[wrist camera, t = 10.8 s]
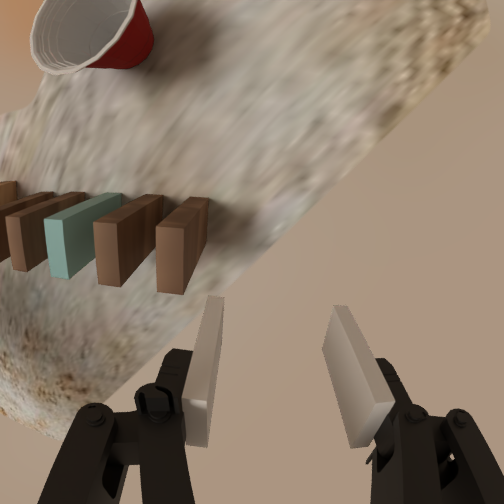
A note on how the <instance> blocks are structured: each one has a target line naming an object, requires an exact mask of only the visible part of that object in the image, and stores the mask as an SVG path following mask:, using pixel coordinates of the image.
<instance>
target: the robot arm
mask: <svg viewBox="0 0 504 504" xmlns="http://www.w3.org/2000/svg"><path fill="white" fill-rule="evenodd" d="M223 311H224V297H216V296H208V299H207V303H206V306H205V310H204V313H203V318H202V321H201V325H200V328H199V332H198V336H197V340H196V343H195V347H194V351H188V350H181V349H172V350H171V351H169V352H168V353H167V354H166V355H165V357H164V360H163V362H162V366H161V368H160V371H159V373H158V376H157V379H156V382H155V383H149V384H146V385H144V386H142V387H140V388H139V389H138V390H137V391H136V393H135V397H134V399H135V404H136V408H137V410H136V411H132V412H116V413H113V411H112V409H110V408H109V407H108V406H107V405H104V404H102V403H90V404H87V405H85V406H83V407H81V409H80V410H79V411H78V412H77V414H76V416H75V418H74V420H73V423H72V425H71V427H70V429H69V431H68V433H67V435H66V437H65V440H64V442H63V444H62V446H61V448H60V451H59V453H58V455H57V457H56V459H55V462H54V464H53V467H52V469H51V471H50V474H49V476H48V478H47V481H46V483H45V486H44V488H43V491H42V493H41V496H40V498H39V501H38V503H37V504H119V501H120V497H121V494H122V490H123V486H124V482H125V478H126V474H127V471H128V467H129V465H140V476H141V477H140V478H141V491H142V502H143V504H195V501H194V496H193V491H192V487H191V482H190V476H189V471H188V465H187V459H186V454H185V447H184V446H185V441H186V445H190V446H198V447H206V448H207V446H208V439H209V431H210V423H211V416H212V408H213V401H214V394H215V387H216V380H217V372H218V365H219V358H220V351H221V345H222V327H223ZM322 351H323V354H324V357H325V360H326V364H327V367H328V370H329V374H330V377H331V381H332V384H333V387H334V391H335V394H336V398H337V401H338V405H339V408H340V412H341V415H342V419H343V423H344V426H345V430H346V433H347V437H348V441H349V445H350V448H360V447H368V446H369V445H370V443H371V442H372V440H373V438H374V440H375V443H376V447H375V449H374V450H373V452H372V453H371V455H370V456H369V457H368V459H367V460H366V464H369V462H370V461H371V460H372V485H371V486H372V487H371V502H370V504H504V476H503V474H502V472H501V469H500V468H499V466H498V464H497V462H496V460H495V458H494V456H493V454H492V452H491V450H490V448H489V446H488V444H487V443H486V441H485V439H484V437H483V435H482V434H481V432H480V430H479V429H478V426H477V425H476V423H475V421H474V420H473V418H472V416H471V415H470V414H469V413H468V412H466V411H465V410H462V409H453V410H450V412H449V413H448V414H447V415H446V417H437V416H429V415H428V412H427V411H426V410H425V409H424V408H422V407H421V406H419V405H416V404H412V401H411V400H410V398H409V396H408V394H407V392H406V390H405V388H404V386H403V384H402V382H400V378H399V377H398V375H397V373H396V371H395V369H394V367H393V366H392V364H390V363H389V362H388V361H387V360H386V359H385V358H374V356H373V354H372V352H371V350H370V349H369V346H368V344H367V342H366V340H365V338H364V336H363V334H362V333H361V331H360V329H359V327H358V325H357V323H356V321H355V319H354V317H353V315H352V313H351V311H350V310H349V308H348V306H339V305H333V309H332V313H331V317H330V321H329V325H328V328H327V333H326V336H325V340H324V344H323V347H322ZM451 454H453V455H454V458H455V459H454V460H452V459H451V458H450V455H451Z"/></svg>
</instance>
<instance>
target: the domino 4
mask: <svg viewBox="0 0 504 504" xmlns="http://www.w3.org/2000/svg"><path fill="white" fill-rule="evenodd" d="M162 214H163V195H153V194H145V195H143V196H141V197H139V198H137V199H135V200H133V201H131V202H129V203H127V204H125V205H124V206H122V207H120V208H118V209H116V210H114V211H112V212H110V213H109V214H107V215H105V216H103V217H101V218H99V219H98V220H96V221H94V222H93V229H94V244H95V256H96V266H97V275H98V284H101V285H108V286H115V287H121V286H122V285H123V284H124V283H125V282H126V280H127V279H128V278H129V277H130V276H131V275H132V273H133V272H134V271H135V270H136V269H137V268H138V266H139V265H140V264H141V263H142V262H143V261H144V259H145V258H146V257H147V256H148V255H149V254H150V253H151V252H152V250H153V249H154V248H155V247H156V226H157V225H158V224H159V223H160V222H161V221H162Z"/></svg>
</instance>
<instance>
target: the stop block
mask: <svg viewBox="0 0 504 504" xmlns="http://www.w3.org/2000/svg"><path fill="white" fill-rule="evenodd" d="M15 200H17V192H16V181H6V182H0V206H2V205H4V204H7V203H10V202H13V201H15Z"/></svg>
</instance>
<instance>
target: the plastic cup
mask: <svg viewBox="0 0 504 504" xmlns="http://www.w3.org/2000/svg"><path fill="white" fill-rule="evenodd" d="M153 42H154V37H153V33H152V29H151V27H150V24H149V20H148V17H147V15H146V13H145V10H144V8H143V6H142V3H141V1H140V0H44V2H43V4H42V5H41V7H40V9H39V11H38V12H37V14H36V16H35V19H34V22H33V26H32V30H31V34H30V46H31V56H32V58H33V59H34V61H35V62H36V64H37V66H38V67H39V68H40V70H43V71H45V72H48V73H50V74H53V75H61V74H67V73H74V72H78V71H79V70H81V69H83V68H84V67H86V68H105V69H106V68H113V69H128V68H131V67H134V66H136V65H139V64H140V63H141V62H142V61H143V60H145V59H146V58H147V56H148V55H149V53H150V52H151V50H152V47H153Z"/></svg>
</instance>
